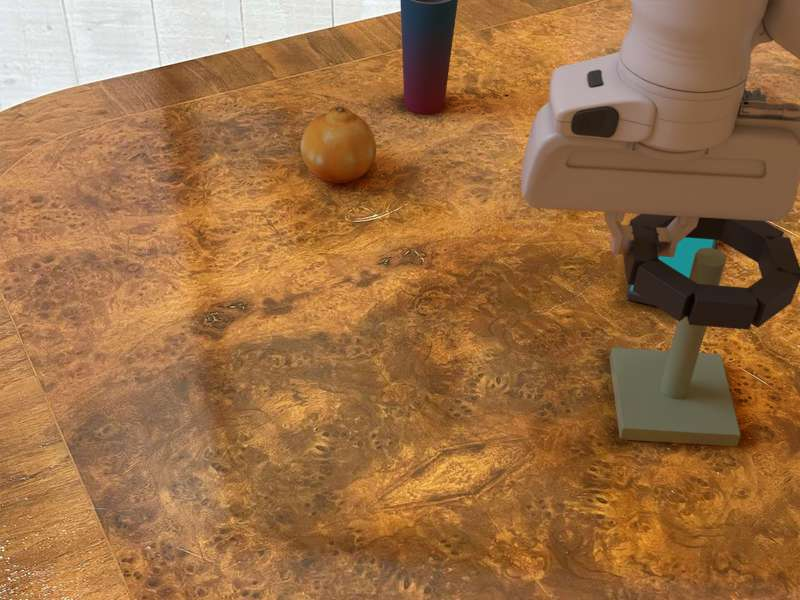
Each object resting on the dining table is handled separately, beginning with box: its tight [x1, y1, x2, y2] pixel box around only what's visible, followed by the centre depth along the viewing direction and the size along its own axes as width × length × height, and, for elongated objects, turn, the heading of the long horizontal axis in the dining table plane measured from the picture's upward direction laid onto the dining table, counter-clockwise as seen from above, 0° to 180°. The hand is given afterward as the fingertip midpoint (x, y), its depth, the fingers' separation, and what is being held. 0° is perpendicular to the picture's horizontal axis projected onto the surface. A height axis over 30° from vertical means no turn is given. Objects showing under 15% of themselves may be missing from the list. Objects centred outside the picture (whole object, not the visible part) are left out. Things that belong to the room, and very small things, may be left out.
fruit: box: [300, 106, 377, 184], centre depth 119 cm, size 8×8×8 cm
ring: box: [622, 214, 800, 331], centre depth 85 cm, size 13×13×2 cm
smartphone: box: [625, 237, 718, 307], centre depth 110 cm, size 7×1×15 cm
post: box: [609, 248, 741, 447], centre depth 90 cm, size 10×10×16 cm
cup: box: [399, 0, 459, 115], centre depth 128 cm, size 7×7×15 cm
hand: (641, 251), depth 84 cm, fingers closed on ring, 2 cm apart
